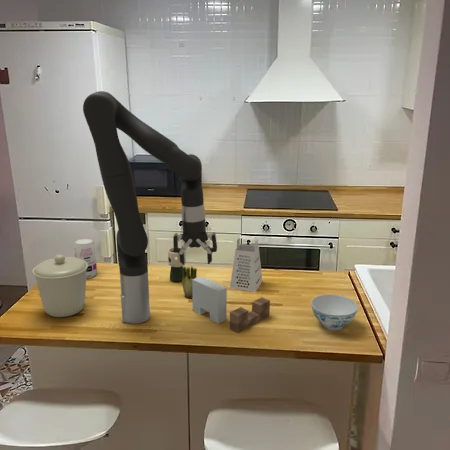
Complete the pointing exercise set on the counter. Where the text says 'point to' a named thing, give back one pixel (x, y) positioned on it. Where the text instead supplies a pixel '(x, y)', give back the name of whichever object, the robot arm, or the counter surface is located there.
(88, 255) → the supplement can
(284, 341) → the counter surface
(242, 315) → the walnut stand
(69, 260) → the canister
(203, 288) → the plain gray rectangular block
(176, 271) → the character mug
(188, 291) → the fennel bulb
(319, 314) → the chinaware
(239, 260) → the grater
